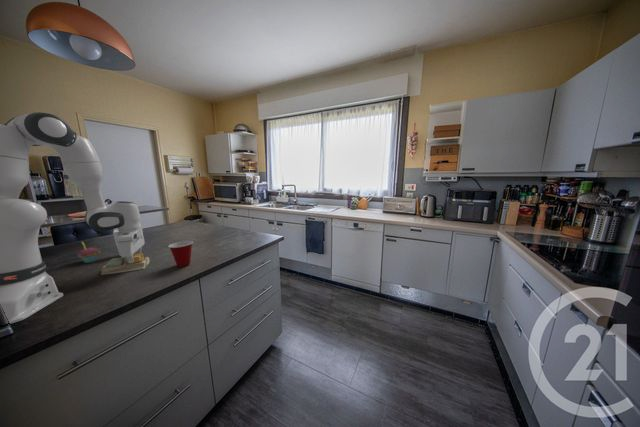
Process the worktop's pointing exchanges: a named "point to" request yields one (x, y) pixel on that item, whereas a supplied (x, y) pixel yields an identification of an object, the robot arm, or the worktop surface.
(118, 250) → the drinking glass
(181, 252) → the plastic cup
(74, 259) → the worktop surface
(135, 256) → the ochre block
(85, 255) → the cupcake
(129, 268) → the slot board
